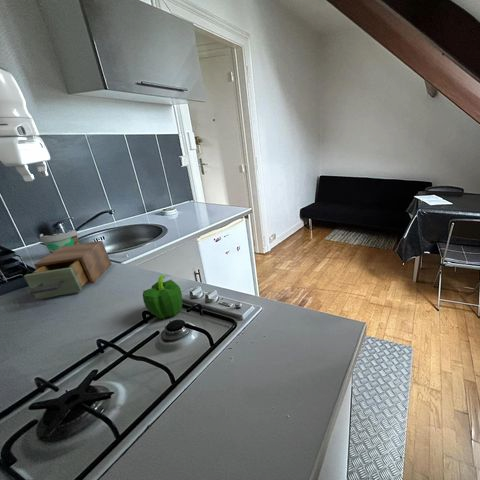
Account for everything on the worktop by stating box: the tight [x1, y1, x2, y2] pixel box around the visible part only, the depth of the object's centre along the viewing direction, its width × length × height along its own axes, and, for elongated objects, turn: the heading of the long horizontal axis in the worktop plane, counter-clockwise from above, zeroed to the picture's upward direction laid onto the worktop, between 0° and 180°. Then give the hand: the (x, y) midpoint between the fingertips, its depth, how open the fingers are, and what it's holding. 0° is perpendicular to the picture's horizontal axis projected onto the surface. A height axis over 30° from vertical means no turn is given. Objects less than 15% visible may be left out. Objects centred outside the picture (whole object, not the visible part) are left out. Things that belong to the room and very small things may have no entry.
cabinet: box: [33, 240, 112, 286], centre depth 88 cm, size 15×12×10 cm
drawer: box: [23, 260, 89, 300], centre depth 80 cm, size 18×11×8 cm, turn 18°
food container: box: [39, 229, 80, 254], centre depth 105 cm, size 12×6×10 cm, turn 105°
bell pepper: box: [142, 274, 183, 320], centre depth 66 cm, size 8×8×10 cm
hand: (37, 178), depth 80 cm, fingers open, 8 cm apart
